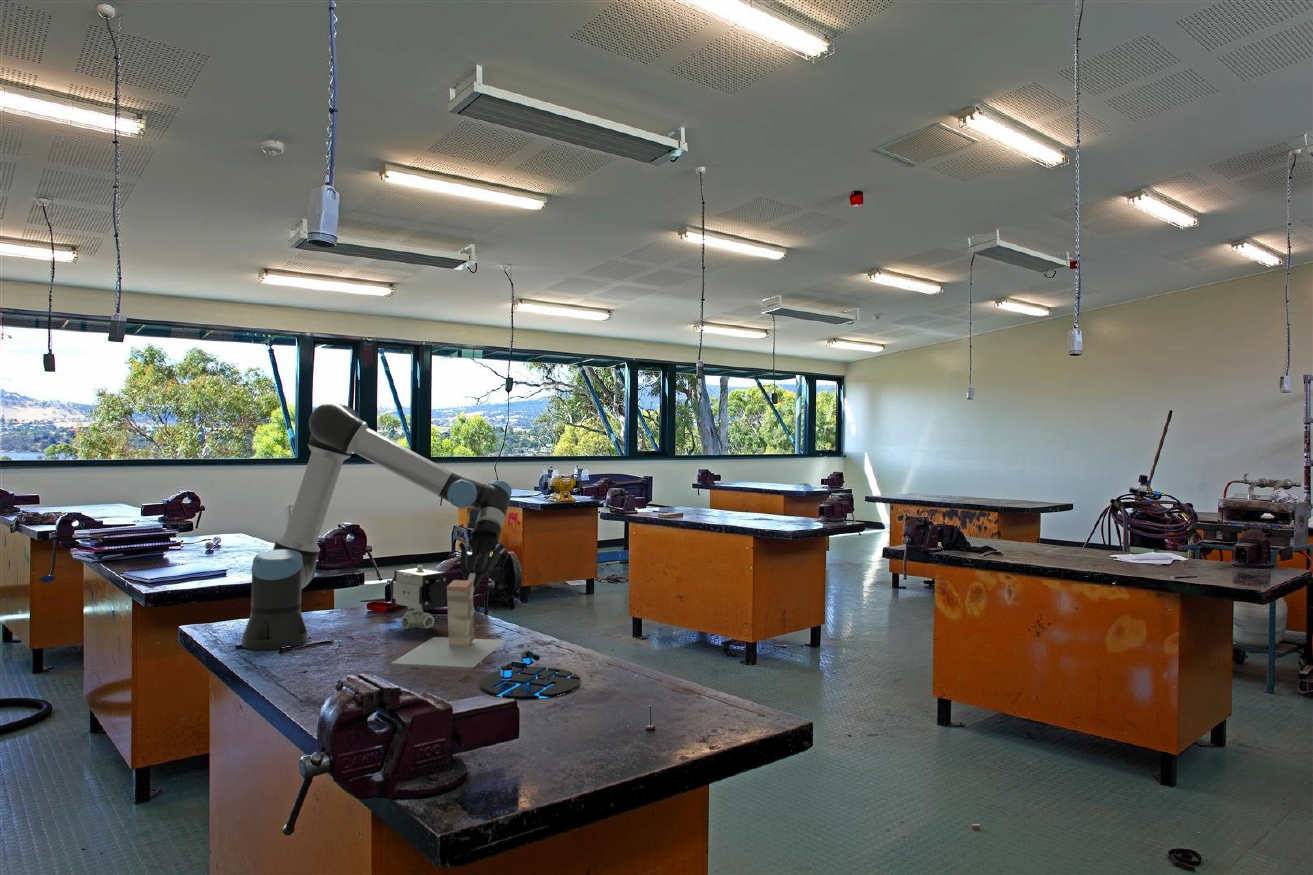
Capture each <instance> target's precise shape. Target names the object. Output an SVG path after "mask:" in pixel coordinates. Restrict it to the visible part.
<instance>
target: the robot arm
mask: <svg viewBox="0 0 1313 875" xmlns="http://www.w3.org/2000/svg"><path fill="white" fill-rule="evenodd" d="M308 427H309V431H310V437H309V440H308V443H307V446H308V448H309V450H310V456H309V459H308V462H307V465H306V468H305V472H304V474H303V477H302V480H301V483H300V486H299V490H298V492H297V495H296V499H295V502H294V503H293V508H292V510H291V513H290V516H289V519H288V522H287V526H286V528H285V531H284V535H283V536H281V537H278V538H277V539H276V540H275V542H274V546H273V549H271V550H267V551H262V552H260V553H258V554H256V555H255V556H254V557H253V560H252V564H251V595H250V614H249V619H248V621H247V624H246V626H245V628H244V632H243V634H242V638H241V647H242V648H243V649H245V650H246V649H247V650H253V651H272V650H274V651H275V650H281V649H280V648H282V647H286V646H294V647H296V646H295V645H298V646H300V645H299V644H301V645H303V644H305V643H307V642H308V630H307V627H306V625H305V621H304V617H303V615H302V610H301V609H302V590H303V589H304V588H306V587H307V586H308V585H309V584H310V583H311V582H312V581H313V579H314V578H315V575H316V572H317V561H318V559H319V555H320V551H321V548H320V547H319V545H318V539H319V536H320V533H321V530H322V527H323V524H324V520H325V519H326V518H325V517H326V515H327V512H328V509H329V505H330V503H331V499H332V497H333V494H334V491H335V487H336V484H337V483H338V482H337V481H338V478H339V475H340V473H341V472H340V471H341V470H342V465H343V463H344V462H345V460H347V459H349V458H351V457H352V454H353V453H354V454H356V455H357V456H360V457H362V458H364V459H366V460H367V461H369V462H372V463H374V464H375V465H377V466H379V467H381V468H383V469H385V470H387V471H389V472H391V473H393V474H395V475H397V476H398V477H400V478H403V479H405V480H406V481H408V482H410V483H412V484H414V485H416V486H417V487H420V488H422V489H424V490H426V491H428V492H429V493H432V494H434V495H435V496H437V497H439V498H441V499H443V500H444V501H446V502H449V503H450V504H451V505H452V506H454V507H456V508H460V509H464V508H468V507H471V508H473V509H476V510H479V513H478V516H477V517H476V522H475V524H474V528H473V530H472V534H471V537H470V538H469V539H468V542H465V543H464V542H460V543H459V544H458V546H459V549H460V572H461V574H462V576H463V577H465V578H464V580H467V581H473V594H474V592H475V589H477V588H479V587H480V583H481V579H483V578H484V577H485V578H488V577H489V576H490V575H491V573H492V572H493V570H494V568H495V567H496V565H497V563H498V561H499V559H501V557H502V555H504V553H506V548H505V546H504V544H500V542H499V540H500V536H501V533H502V528H503V526H504V522H505V519H506V517H507V516H506V515H507V512H508V509H509V506H510V502H511V498H512V492H513V491H512V490H513V489H512V487H511V486H510V484H509V483H507V482H506V481H504V480H501V479H499V480H496V479H494V480H491V481H490V482H489V483H488V484H486V483H481V482H479V481H475V480H473V479H470V478H467V477H464V476H462V475H459V474H457V473H454V472H453V471H451V470H449V469H447V468H445V467H443V466H441V465H439V464H437V463H436V462H434V461H431V460H430V459H428V458H426V457H424V456H422V455H420V454H418V453H417V452H415V451H413V450H411V449H409V448H407V447H405V446H403V445H401V444H400V443H398V442H396V441H394V440H392V439H390V438H388V437H387V436H385V435H383V434H381V433H379V432H378V431H375V430H373V429H372V428H369V426H368V422H366V421H365V420H363V419H361V417H360V415H359V413H358V412H357V411H356V410H355V409H353V408H352V407H350V406H348V405H344V404H341V403H337V402H325V403H322V404H320V405H318V406H317V407H315V409H314V410H313V411H312V412H311V413H310V417H309V420H308ZM469 548H470V550H471V555H470V559H469V561H468V552H469ZM491 553H492V554H491ZM490 554H491V555H490ZM468 562H469V563H468ZM477 563H478V564H477ZM304 642H305V643H304ZM302 643H303V644H302Z"/></svg>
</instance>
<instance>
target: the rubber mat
mask: <svg viewBox="0 0 1313 875" xmlns="http://www.w3.org/2000/svg"><path fill="white" fill-rule="evenodd" d="M505 642H506V640H505V639H487V638H485V639H484V638H474V640H473V641H472V642H471V644H470V645H469V646H468V647H457V646H449V637H445V636H443V637H442V636H433V637H431V638H430V639H428V640H426V641H425V642H423V643H421V644H420V645H418V646H416V647H415V648H413V649H411V650H409V651H408V652H407V653H405V654H404V655H402V656H400V657H398V658H397V659H395V660H394V661H392V662H391V663H390V666H392V667H407V668H408V667H410V668H428V669H429V668H430V669H450V670H451V669H452V670H468V671H469V670H472V671H473V670H474V671H475V669H476V666H477V665H478V664H479V663H481V662H482V661H483V660H485V659H486V658H487V657H488V656H489V655H490V654H491V653H493V652H494V651H495V650H496V649H497V648H499V647H501V645H502V644H503V643H505Z"/></svg>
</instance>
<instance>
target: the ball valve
mask: <svg viewBox="0 0 1313 875" xmlns="http://www.w3.org/2000/svg"><path fill="white" fill-rule="evenodd" d="M446 580H447V578H446V572H442V571H436V570H431V569H425V568H424V566H423V565H421V564H420V565H419V564H418V565H417V567H411V568H404V569H402V568H401V569H396V570H394V576H393V578H391V581H390V598H391V599H393V604H395V605H399V606H402V607H403V606H405V607H407V610H409V611H406V612H405V613H404V615H402V617H401V621H400V623H401V624H400V625H401V627H402V628H403V629H406V630H408V629H409V630H410V629H416V628H418V629H425V630H426V629H430V628H432V627H433V625H434V623H435V619H434V617H433V615H431V613H428V612H426V610H432V609H437V608H442V607H445V606H446V602H445V601H446V600H447V586H448V585H449V584H448V582H447V581H446ZM411 609H412V610H411Z"/></svg>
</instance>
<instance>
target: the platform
mask: <svg viewBox="0 0 1313 875" xmlns="http://www.w3.org/2000/svg"><path fill="white" fill-rule="evenodd" d="M520 656H521V658H520V660H521V661H518V660H513V661H511V662H508V663H507V664H506V665H505V664H504V665H502V666H500V669H499V670H497V671H493V672H490V673H487V674H486V675H485V676H483V677H482V678H481V679H480V681H479V684H478V685H479V689H480V690H481V691H482V692H484V693H486V694H487V695H489V696H493V695H495V696H494V697H496V696H503V697H506V698H505V699H508V698H514V699H513V700H522V701H523V700H524V701H525V700H539V699H538V698H544V699H549V697H551V698H555V697H554V696H556V697H558V696H557V695H560V694H563V693H567V694H570V693H571V691H572V690H574V689H576V688H577V687H578V686H579V685H580V686H581V678H580V676H579V675H578V674H576V673H574V674H573V672H572V671H570V670H568V669H563V668H558V667H557V668H556V667H550V666H549V667H548V668H547V666H531V665H533V664H534V661H536V662H538V661H539V660H540V659H541V656H540V655H539V654H538V653H537V652H535V651H534V650H531V649H528V650H524V651H522V652H521V653H520ZM556 672H558V673H556ZM568 676H570V678H567V677H568ZM580 686H579V687H580ZM579 687H578V688H579ZM578 688H577V689H578ZM543 689H545V690H543ZM577 689H576V690H577ZM574 691H575V690H574ZM569 692H570V693H569ZM572 692H573V691H572ZM536 693H537V694H536ZM538 693H539V694H538Z"/></svg>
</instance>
